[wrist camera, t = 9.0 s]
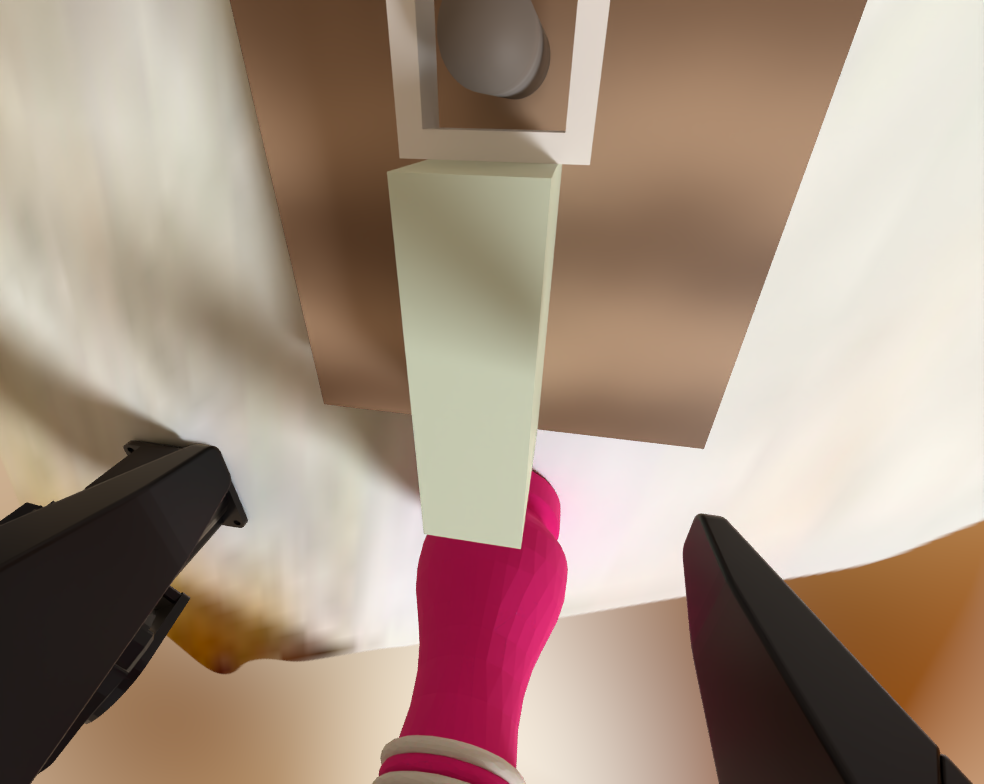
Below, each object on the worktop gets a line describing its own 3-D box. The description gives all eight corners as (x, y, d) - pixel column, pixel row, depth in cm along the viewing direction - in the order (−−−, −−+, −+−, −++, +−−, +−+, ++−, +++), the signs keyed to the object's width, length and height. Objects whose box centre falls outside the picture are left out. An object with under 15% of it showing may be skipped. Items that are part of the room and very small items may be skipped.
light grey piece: (554, 430, 18) (544, 552, 13) (450, 418, 18) (401, 530, 13) (613, -64, 10) (645, -237, 5) (430, -57, 11) (297, -207, 6)
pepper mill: (596, 514, 24) (629, 1390, 8) (503, 558, 28) (386, 1226, 11) (508, 432, 22) (289, 1382, 6) (419, 490, 26) (122, 1184, 9)
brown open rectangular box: (688, 406, 20) (737, 542, 13) (353, 370, 22) (262, 474, 16) (820, -12, 12) (1078, -145, 6) (286, -2, 14) (55, -92, 8)
